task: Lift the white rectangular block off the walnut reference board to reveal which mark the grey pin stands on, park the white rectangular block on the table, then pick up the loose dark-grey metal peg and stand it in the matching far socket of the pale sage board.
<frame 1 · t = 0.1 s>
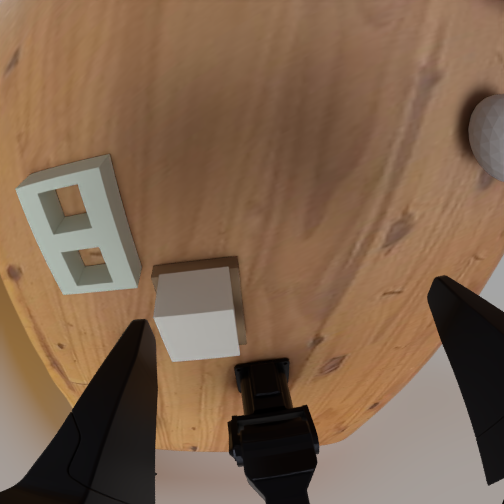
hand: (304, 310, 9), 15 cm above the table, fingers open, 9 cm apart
perfume bottle: (486, 128, 21), on the table
white rectangular block: (199, 295, 26), point 1 cm above the table, touching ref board
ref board: (203, 303, 29), on the table
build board: (85, 222, 22), on the table
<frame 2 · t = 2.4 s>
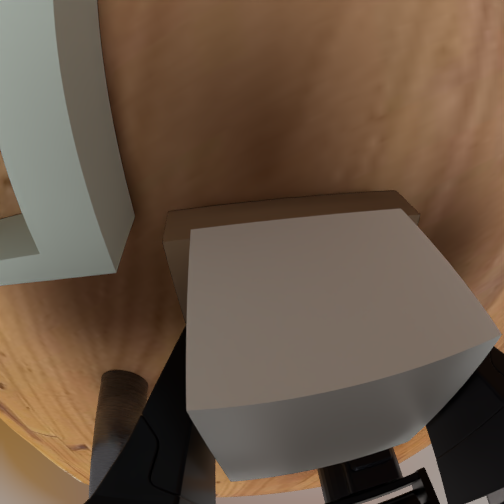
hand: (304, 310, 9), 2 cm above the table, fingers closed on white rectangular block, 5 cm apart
white rectangular block: (300, 297, 9), point 1 cm above the table, touching gripper, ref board
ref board: (287, 315, 12), on the table
peg: (124, 382, 14), on the table
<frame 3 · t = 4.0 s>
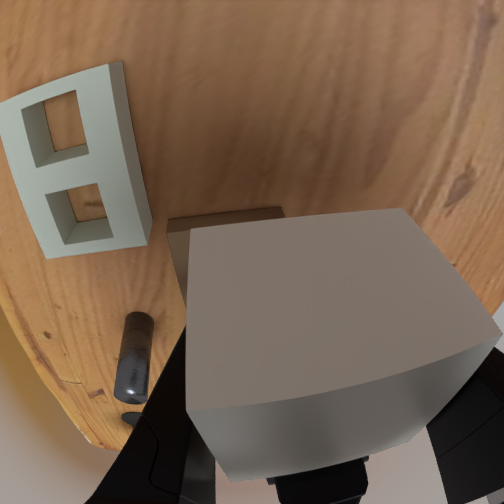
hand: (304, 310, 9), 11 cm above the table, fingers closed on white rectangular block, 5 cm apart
white rectangular block: (300, 296, 9), point 11 cm above the table, touching gripper
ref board: (231, 274, 22), on the table
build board: (81, 158, 16), on the table
peg: (139, 321, 24), on the table
when the fingers open (2 cm above the table, at t = 6.0 s): white rectangular block drops 1 cm, on the table.
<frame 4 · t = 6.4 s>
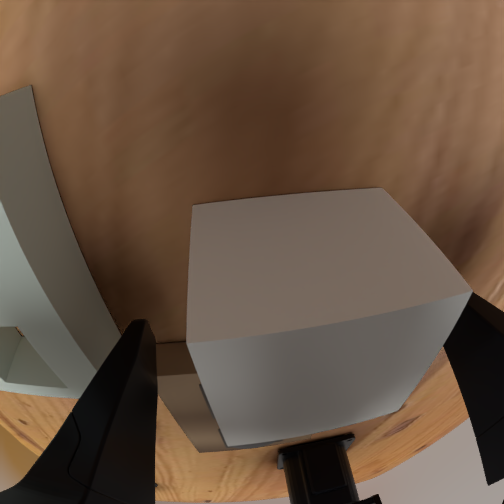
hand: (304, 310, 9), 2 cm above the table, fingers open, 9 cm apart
white rectangular block: (292, 270, 10), on the table
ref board: (246, 394, 15), on the table
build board: (0, 257, 8), on the table
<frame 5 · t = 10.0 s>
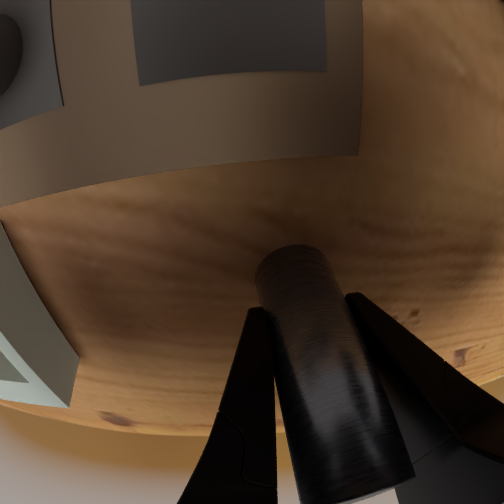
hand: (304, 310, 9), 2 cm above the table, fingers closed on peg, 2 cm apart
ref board: (112, 19, 5), on the table
peg: (292, 275, 10), on the table, touching gripper
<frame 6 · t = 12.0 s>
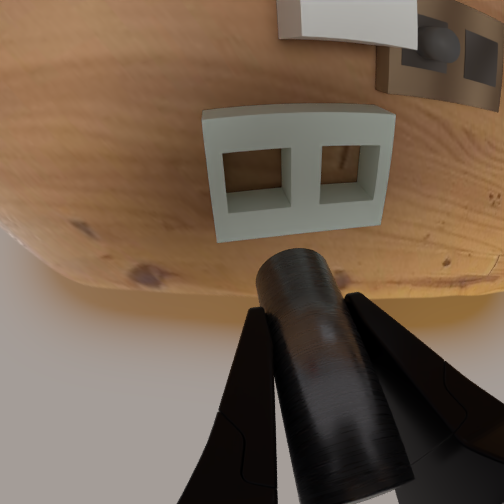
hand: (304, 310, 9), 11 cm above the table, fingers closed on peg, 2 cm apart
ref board: (441, 48, 14), on the table
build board: (294, 160, 18), on the table
peg: (292, 278, 10), point 10 cm above the table, touching gripper
when the fingers open (3 cm above the table, at t = 14.0 s): peg drops 2 cm, resting in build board.
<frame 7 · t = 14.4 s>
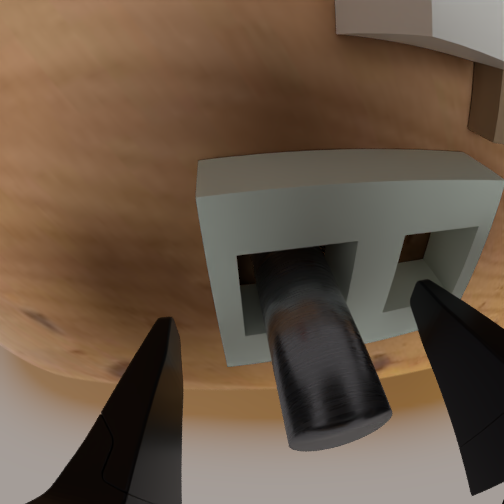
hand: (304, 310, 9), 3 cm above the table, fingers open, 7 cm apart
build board: (346, 237, 12), on the table
peg: (282, 247, 11), resting in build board
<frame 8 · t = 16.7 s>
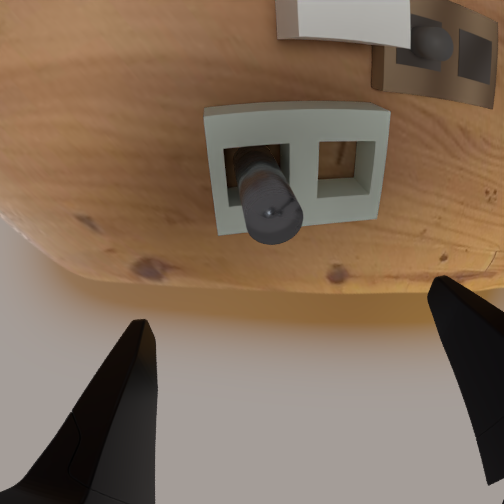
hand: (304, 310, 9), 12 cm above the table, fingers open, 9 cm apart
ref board: (436, 47, 14), on the table
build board: (293, 156, 19), on the table
peg: (253, 161, 18), resting in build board
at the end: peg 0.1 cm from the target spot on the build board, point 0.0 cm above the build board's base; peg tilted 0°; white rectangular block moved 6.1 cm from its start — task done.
